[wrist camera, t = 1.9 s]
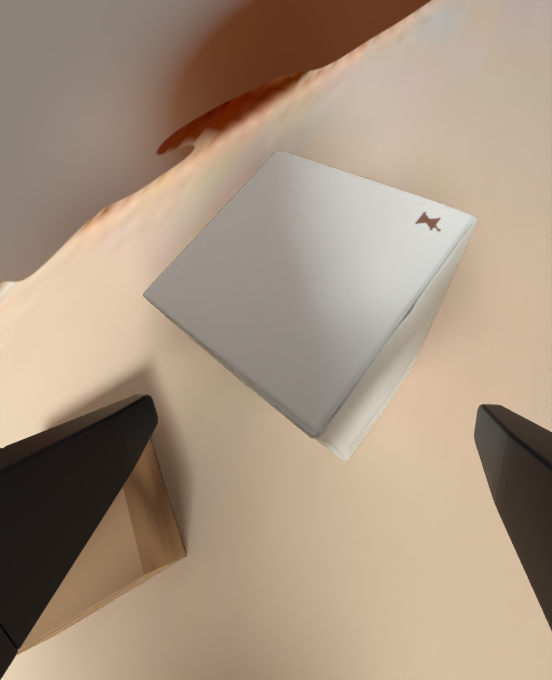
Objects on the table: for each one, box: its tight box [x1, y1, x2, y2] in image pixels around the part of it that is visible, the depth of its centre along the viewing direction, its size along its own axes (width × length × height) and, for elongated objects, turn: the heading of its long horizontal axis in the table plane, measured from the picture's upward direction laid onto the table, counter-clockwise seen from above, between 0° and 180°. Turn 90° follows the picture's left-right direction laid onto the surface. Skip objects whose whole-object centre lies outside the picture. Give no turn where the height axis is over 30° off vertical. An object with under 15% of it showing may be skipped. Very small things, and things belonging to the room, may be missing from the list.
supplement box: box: [143, 151, 478, 461], centre depth 15 cm, size 7×7×13 cm
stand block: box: [17, 407, 186, 655], centre depth 18 cm, size 9×9×4 cm
